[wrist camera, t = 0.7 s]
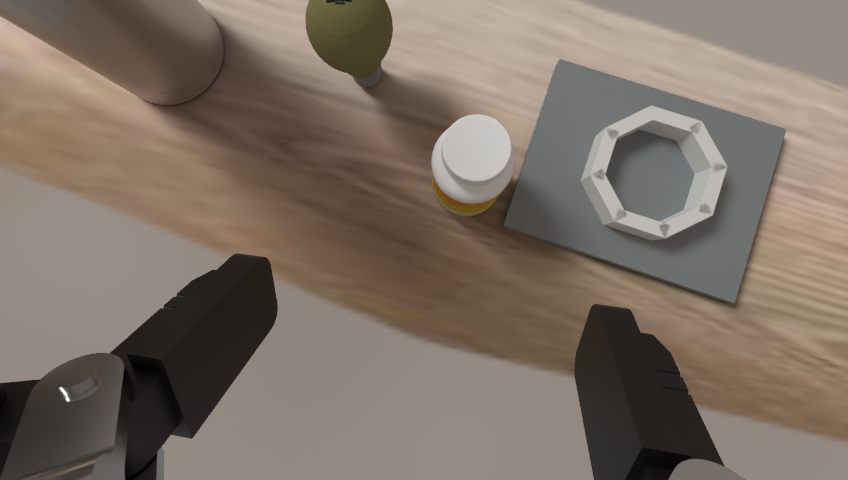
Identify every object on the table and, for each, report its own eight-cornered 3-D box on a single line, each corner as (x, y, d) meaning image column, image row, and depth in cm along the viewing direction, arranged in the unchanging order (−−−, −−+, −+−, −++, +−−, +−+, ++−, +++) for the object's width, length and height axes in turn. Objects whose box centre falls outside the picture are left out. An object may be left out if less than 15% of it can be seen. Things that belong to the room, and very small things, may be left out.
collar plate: (501, 226, 33) (508, 222, 30) (556, 65, 33) (567, 45, 30) (725, 302, 31) (755, 305, 29) (775, 133, 32) (809, 119, 29)
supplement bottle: (498, 218, 33) (524, 195, 23) (431, 216, 33) (428, 193, 23) (500, 152, 33) (525, 102, 23) (433, 150, 33) (431, 100, 24)
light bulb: (339, 114, 34) (297, 48, 24) (331, 50, 34) (287, -41, 24) (405, 105, 34) (392, 35, 24) (397, 40, 34) (380, -55, 24)
